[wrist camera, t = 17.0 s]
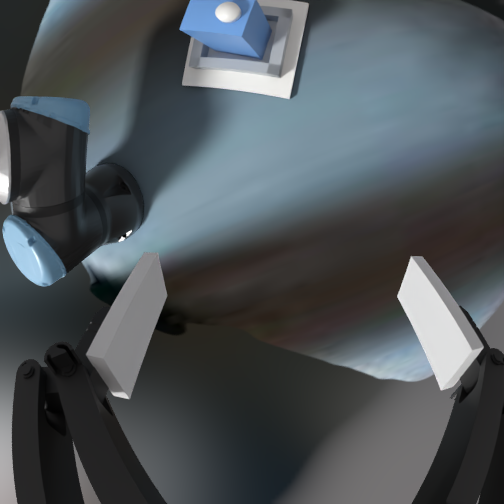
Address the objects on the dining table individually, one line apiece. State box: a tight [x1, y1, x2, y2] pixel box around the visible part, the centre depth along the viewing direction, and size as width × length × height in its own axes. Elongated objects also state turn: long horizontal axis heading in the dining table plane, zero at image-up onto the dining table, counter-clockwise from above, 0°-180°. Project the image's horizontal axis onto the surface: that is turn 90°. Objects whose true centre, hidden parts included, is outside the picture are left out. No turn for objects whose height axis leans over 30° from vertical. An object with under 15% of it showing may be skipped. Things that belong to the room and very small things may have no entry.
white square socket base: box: [182, 0, 309, 99], centre depth 29 cm, size 16×16×4 cm
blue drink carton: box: [179, 0, 272, 60], centre depth 24 cm, size 7×5×13 cm
